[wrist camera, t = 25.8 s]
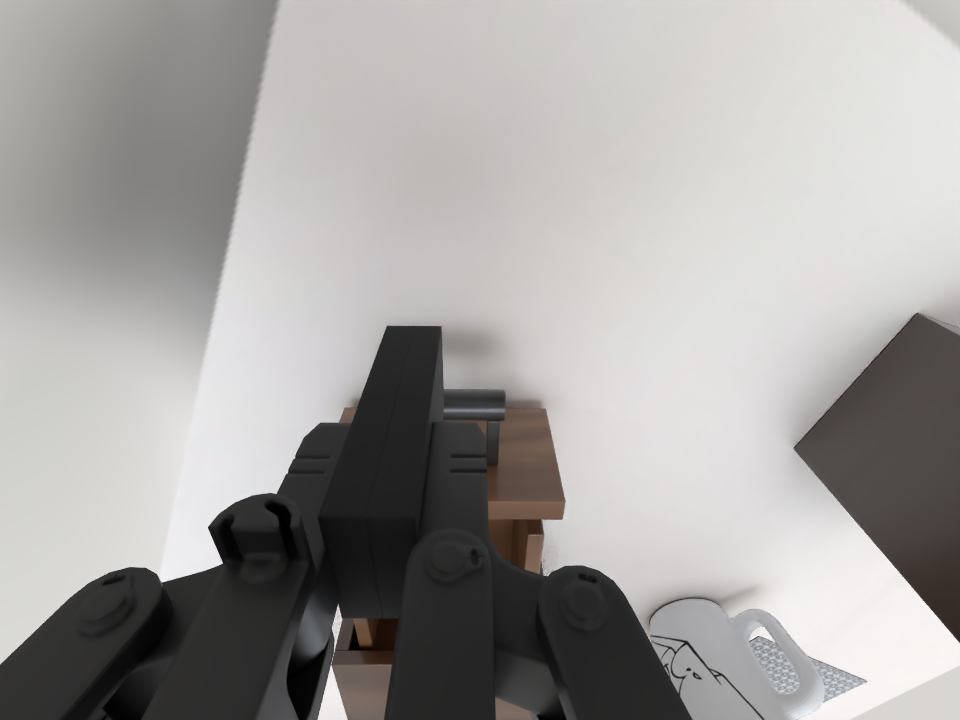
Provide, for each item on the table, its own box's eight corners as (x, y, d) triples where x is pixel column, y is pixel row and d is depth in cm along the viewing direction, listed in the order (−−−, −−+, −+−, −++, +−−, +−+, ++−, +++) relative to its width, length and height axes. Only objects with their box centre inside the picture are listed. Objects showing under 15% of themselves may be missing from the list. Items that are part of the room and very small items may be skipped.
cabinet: (363, 535, 33) (331, 665, 26) (538, 536, 33) (555, 665, 26) (383, 650, 41) (363, 774, 34) (524, 650, 42) (535, 773, 34)
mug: (737, 557, 35) (821, 713, 26) (790, 602, 38) (881, 754, 29) (615, 620, 39) (654, 771, 31) (672, 655, 42) (721, 802, 34)
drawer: (333, 343, 24) (288, 428, 18) (552, 345, 24) (576, 429, 18) (372, 566, 34) (350, 668, 28) (528, 567, 34) (539, 668, 28)
